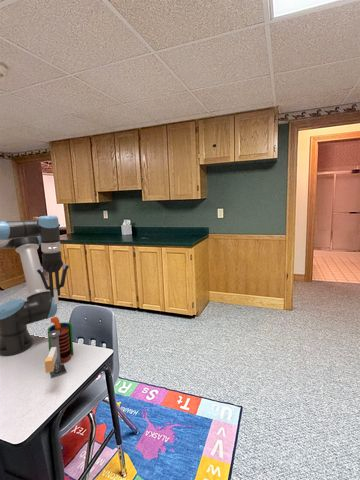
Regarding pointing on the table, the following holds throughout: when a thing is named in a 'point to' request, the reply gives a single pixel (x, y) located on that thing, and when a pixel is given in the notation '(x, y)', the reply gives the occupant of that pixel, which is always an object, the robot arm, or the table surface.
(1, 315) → the robot arm
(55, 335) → the post
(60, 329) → the motor
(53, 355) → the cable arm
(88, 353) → the table surface
